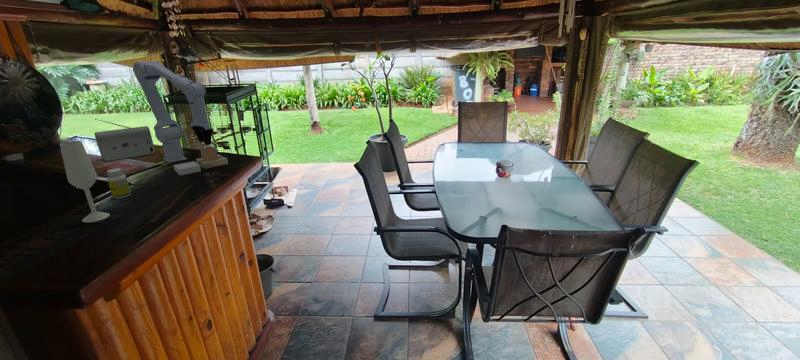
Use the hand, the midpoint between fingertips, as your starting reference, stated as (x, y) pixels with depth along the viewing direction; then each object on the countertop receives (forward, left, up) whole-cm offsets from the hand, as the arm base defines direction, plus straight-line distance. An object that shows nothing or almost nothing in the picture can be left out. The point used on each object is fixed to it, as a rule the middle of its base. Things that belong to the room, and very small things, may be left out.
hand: (205, 143), depth 157 cm
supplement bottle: (+17, -35, -10) cm, 40 cm away
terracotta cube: (+1, +1, -7) cm, 7 cm away
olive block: (0, +1, -10) cm, 10 cm away
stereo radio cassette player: (-39, -23, -10) cm, 47 cm away
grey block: (+4, -10, -10) cm, 15 cm away
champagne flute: (+32, -44, -10) cm, 55 cm away
